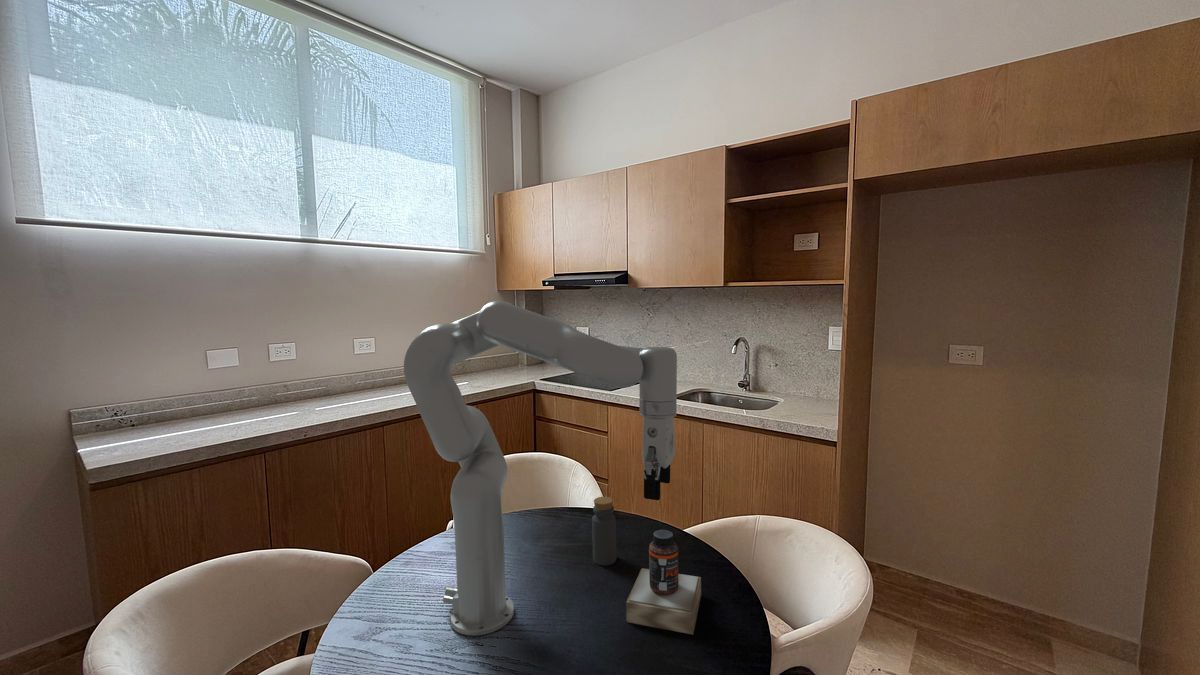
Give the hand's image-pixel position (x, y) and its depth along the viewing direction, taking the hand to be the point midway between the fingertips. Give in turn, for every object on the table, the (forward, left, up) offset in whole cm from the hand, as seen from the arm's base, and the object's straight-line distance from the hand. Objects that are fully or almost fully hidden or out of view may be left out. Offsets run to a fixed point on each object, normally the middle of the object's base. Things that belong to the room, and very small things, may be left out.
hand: (657, 490), depth 98 cm
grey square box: (+1, -1, -24) cm, 24 cm away
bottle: (-17, +14, -25) cm, 33 cm away
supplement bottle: (+1, -1, -20) cm, 20 cm away
